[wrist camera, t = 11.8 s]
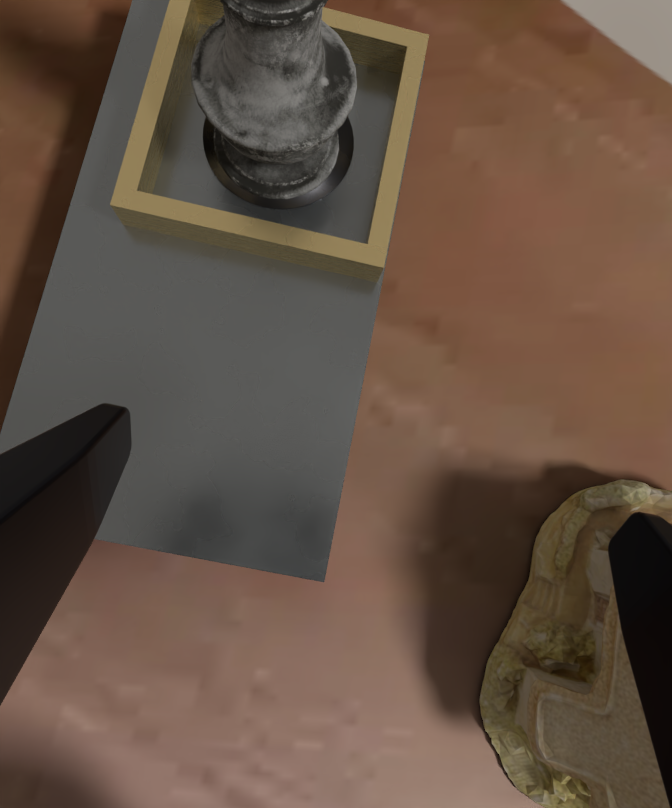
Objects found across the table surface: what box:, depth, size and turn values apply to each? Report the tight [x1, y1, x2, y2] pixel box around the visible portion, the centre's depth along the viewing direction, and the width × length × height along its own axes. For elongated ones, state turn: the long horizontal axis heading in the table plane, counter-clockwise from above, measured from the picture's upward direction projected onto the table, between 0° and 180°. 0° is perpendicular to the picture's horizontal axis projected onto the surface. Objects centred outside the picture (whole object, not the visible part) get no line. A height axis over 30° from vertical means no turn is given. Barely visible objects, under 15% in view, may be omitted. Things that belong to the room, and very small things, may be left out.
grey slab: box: [0, 0, 429, 582], centre depth 21 cm, size 23×13×4 cm, turn 169°
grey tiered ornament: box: [191, 0, 357, 199], centre depth 16 cm, size 6×6×12 cm
